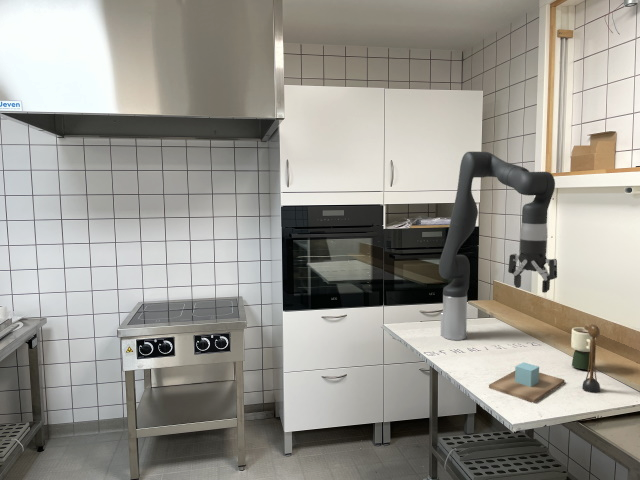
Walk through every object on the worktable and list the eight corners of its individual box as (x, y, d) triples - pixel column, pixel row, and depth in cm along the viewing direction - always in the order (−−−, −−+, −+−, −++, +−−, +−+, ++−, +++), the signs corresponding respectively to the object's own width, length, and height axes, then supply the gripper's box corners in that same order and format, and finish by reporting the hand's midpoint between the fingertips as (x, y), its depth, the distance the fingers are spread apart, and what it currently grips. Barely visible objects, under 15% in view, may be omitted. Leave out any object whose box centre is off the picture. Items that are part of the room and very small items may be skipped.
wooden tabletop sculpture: (576, 385, 149) (579, 321, 147) (590, 384, 150) (593, 320, 147) (589, 393, 144) (592, 327, 141) (603, 392, 144) (607, 326, 142)
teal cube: (514, 381, 150) (515, 366, 150) (523, 377, 154) (523, 362, 153) (530, 386, 147) (531, 370, 146) (538, 382, 150) (539, 366, 149)
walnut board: (488, 387, 149) (488, 384, 149) (521, 370, 162) (521, 367, 162) (534, 403, 138) (534, 399, 138) (564, 382, 151) (564, 379, 151)
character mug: (601, 374, 157) (603, 335, 155) (577, 374, 157) (579, 335, 156) (586, 362, 167) (588, 325, 166) (564, 361, 168) (566, 325, 167)
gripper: (505, 236, 152) (503, 287, 154) (551, 241, 141) (548, 296, 143) (517, 234, 157) (515, 284, 159) (562, 238, 146) (560, 291, 148)
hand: (531, 289), depth 151 cm, fingers open, 8 cm apart
